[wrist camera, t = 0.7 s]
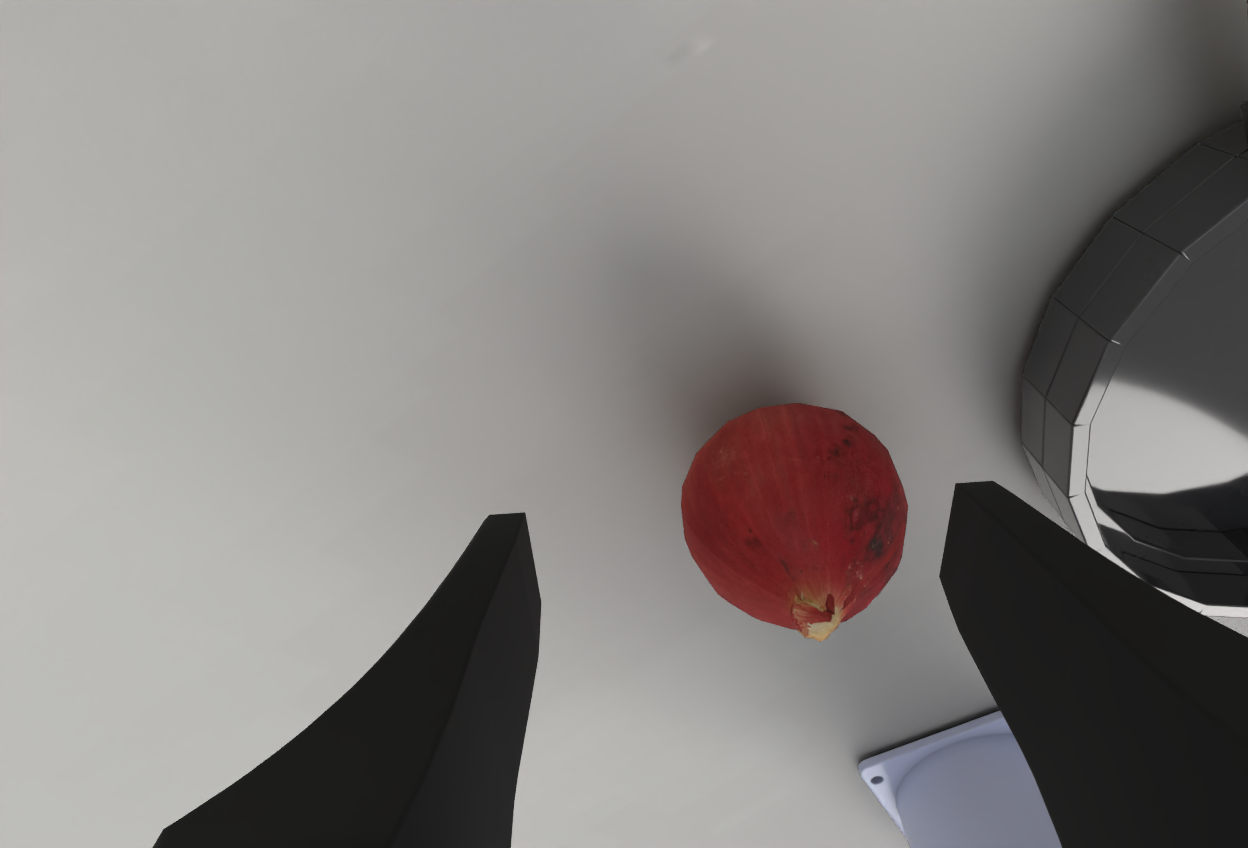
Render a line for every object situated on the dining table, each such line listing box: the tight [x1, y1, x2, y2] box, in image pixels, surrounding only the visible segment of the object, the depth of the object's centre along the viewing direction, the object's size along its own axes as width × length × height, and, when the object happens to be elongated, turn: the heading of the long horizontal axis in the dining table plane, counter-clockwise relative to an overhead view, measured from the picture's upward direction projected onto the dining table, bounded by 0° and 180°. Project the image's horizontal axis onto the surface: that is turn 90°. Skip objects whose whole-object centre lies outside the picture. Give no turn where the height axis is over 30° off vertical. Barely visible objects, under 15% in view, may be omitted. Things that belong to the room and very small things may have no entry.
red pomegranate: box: [681, 403, 908, 642], centre depth 21 cm, size 6×6×8 cm
